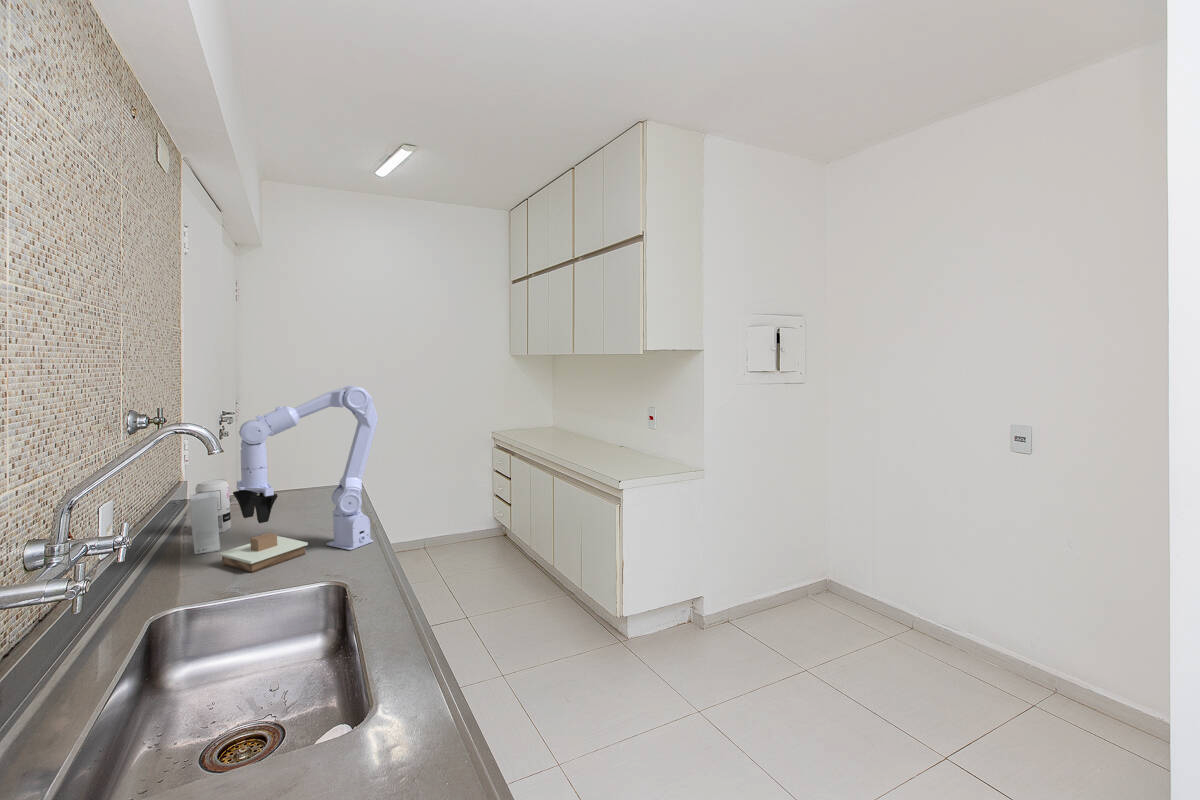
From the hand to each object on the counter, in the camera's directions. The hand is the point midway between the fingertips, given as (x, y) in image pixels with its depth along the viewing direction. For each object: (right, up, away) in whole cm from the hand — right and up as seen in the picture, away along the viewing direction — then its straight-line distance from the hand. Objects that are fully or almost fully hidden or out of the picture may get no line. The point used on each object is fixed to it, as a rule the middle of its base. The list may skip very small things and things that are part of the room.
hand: (255, 519), depth 142 cm
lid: (+2, -8, 0) cm, 8 cm away
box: (+2, -10, +1) cm, 11 cm away
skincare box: (-19, -10, +8) cm, 23 cm away
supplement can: (-27, -9, +24) cm, 37 cm away
